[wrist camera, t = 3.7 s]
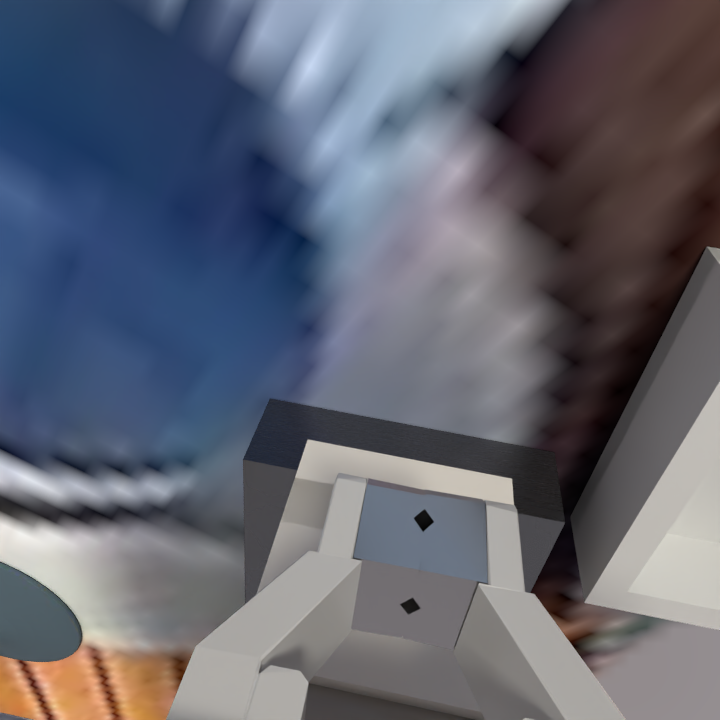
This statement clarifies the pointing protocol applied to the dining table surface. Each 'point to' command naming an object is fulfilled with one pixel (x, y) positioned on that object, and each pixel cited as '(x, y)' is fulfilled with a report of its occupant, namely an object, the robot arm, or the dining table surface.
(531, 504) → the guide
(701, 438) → the tray
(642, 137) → the dining table surface
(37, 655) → the cocktail glass
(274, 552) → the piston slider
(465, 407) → the dining table surface
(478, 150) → the dining table surface
